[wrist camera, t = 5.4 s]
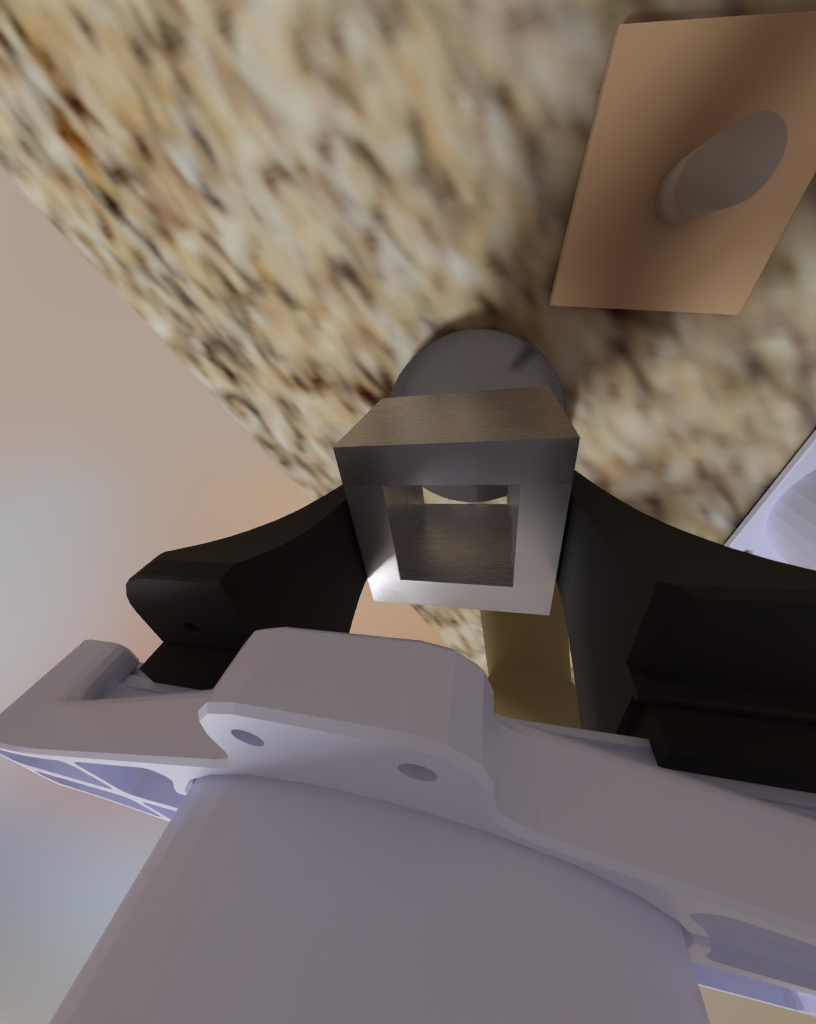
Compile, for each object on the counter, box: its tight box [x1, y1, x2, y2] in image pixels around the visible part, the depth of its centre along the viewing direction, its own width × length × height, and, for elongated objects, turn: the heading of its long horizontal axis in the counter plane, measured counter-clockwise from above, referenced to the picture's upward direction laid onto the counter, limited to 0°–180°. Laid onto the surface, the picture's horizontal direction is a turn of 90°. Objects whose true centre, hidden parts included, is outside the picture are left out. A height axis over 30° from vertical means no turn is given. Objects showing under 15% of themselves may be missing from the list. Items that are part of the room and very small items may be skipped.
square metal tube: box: [333, 386, 580, 615], centre depth 11 cm, size 6×6×4 cm
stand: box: [549, 10, 816, 315], centre depth 10 cm, size 7×7×4 cm
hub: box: [390, 328, 566, 502], centre depth 16 cm, size 9×9×4 cm
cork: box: [480, 580, 581, 729], centre depth 19 cm, size 6×6×11 cm
